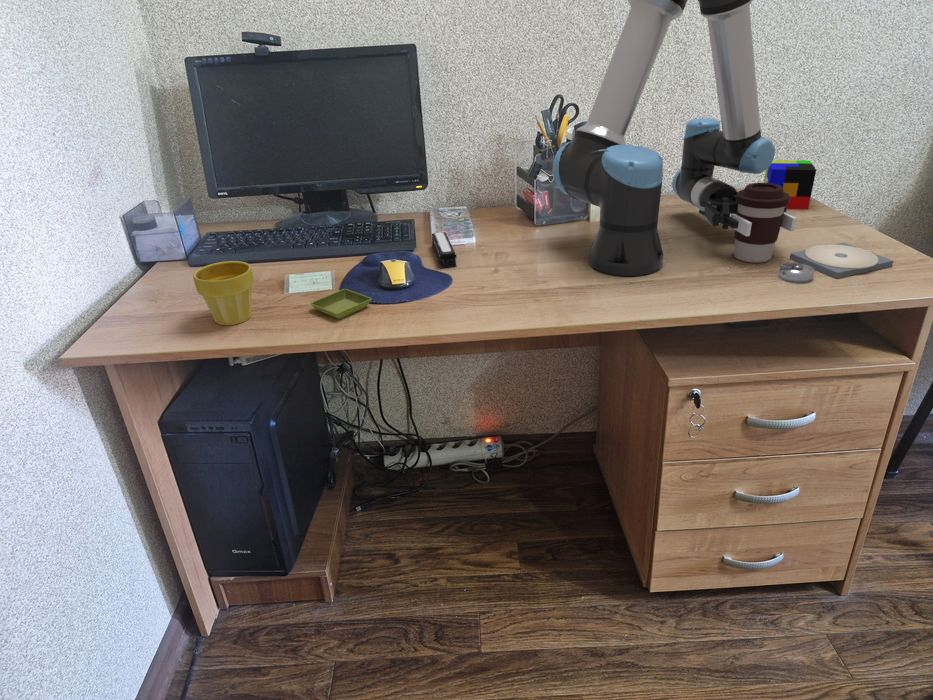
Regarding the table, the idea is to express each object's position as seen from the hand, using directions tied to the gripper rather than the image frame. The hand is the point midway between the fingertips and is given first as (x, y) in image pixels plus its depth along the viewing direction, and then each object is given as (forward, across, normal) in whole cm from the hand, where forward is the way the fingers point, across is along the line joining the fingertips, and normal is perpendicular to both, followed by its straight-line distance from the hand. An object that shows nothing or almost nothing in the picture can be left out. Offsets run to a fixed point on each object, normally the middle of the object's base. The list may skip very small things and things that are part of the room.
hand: (771, 227), depth 126 cm
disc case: (+3, -14, -8) cm, 17 cm away
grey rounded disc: (+7, -2, -8) cm, 11 cm away
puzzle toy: (-37, -28, -8) cm, 47 cm away
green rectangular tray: (-3, +86, -9) cm, 86 cm away
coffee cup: (-5, 0, -8) cm, 9 cm away
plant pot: (-4, +106, -8) cm, 107 cm away
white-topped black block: (-27, +62, -9) cm, 68 cm away
